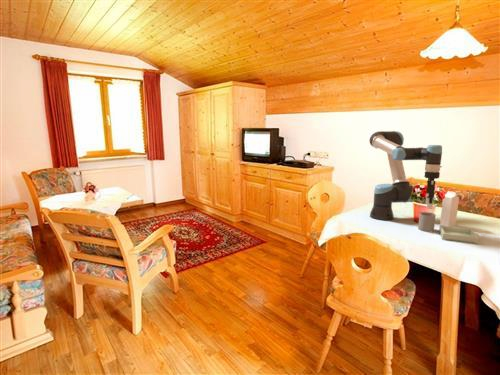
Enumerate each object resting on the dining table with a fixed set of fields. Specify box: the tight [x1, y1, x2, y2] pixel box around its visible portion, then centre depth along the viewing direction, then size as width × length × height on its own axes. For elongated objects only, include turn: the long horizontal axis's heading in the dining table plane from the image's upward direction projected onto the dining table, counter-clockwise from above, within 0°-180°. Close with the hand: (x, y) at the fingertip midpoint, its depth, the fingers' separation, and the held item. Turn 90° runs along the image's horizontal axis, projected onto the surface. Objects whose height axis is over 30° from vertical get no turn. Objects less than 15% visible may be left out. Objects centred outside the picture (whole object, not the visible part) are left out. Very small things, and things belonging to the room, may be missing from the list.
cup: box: [417, 211, 437, 233], centre depth 179 cm, size 8×8×10 cm
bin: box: [438, 224, 479, 245], centre depth 167 cm, size 16×16×4 cm
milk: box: [439, 190, 460, 227], centre depth 186 cm, size 6×6×22 cm
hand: (428, 206), depth 177 cm, fingers open, 13 cm apart
